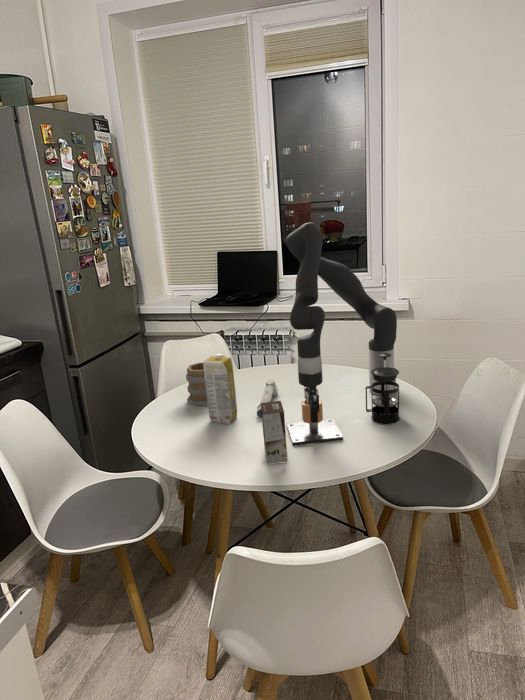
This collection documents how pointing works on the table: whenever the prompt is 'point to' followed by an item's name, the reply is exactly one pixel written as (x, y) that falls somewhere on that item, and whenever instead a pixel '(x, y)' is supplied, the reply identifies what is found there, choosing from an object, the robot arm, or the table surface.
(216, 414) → the juice carton
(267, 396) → the toothbrush head
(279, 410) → the coffee box
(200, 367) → the tankard
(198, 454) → the table surface
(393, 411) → the french press
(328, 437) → the plate
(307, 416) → the octagonal hollow tube
